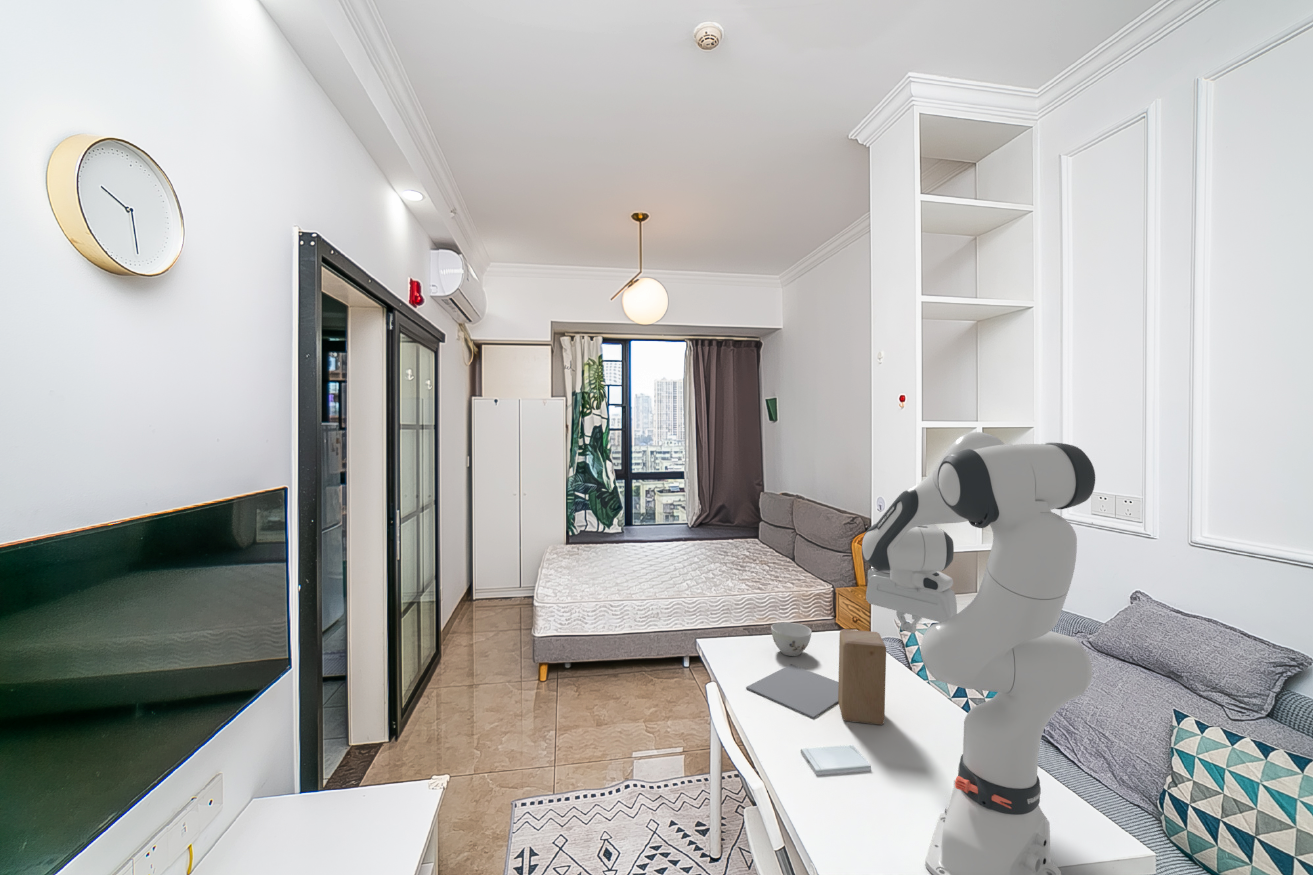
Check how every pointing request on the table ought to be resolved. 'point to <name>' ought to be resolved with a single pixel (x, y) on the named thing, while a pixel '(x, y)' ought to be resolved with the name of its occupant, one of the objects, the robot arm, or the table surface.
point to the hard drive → (835, 759)
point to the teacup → (791, 637)
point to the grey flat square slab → (798, 690)
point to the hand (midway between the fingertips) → (908, 631)
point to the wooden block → (862, 676)
